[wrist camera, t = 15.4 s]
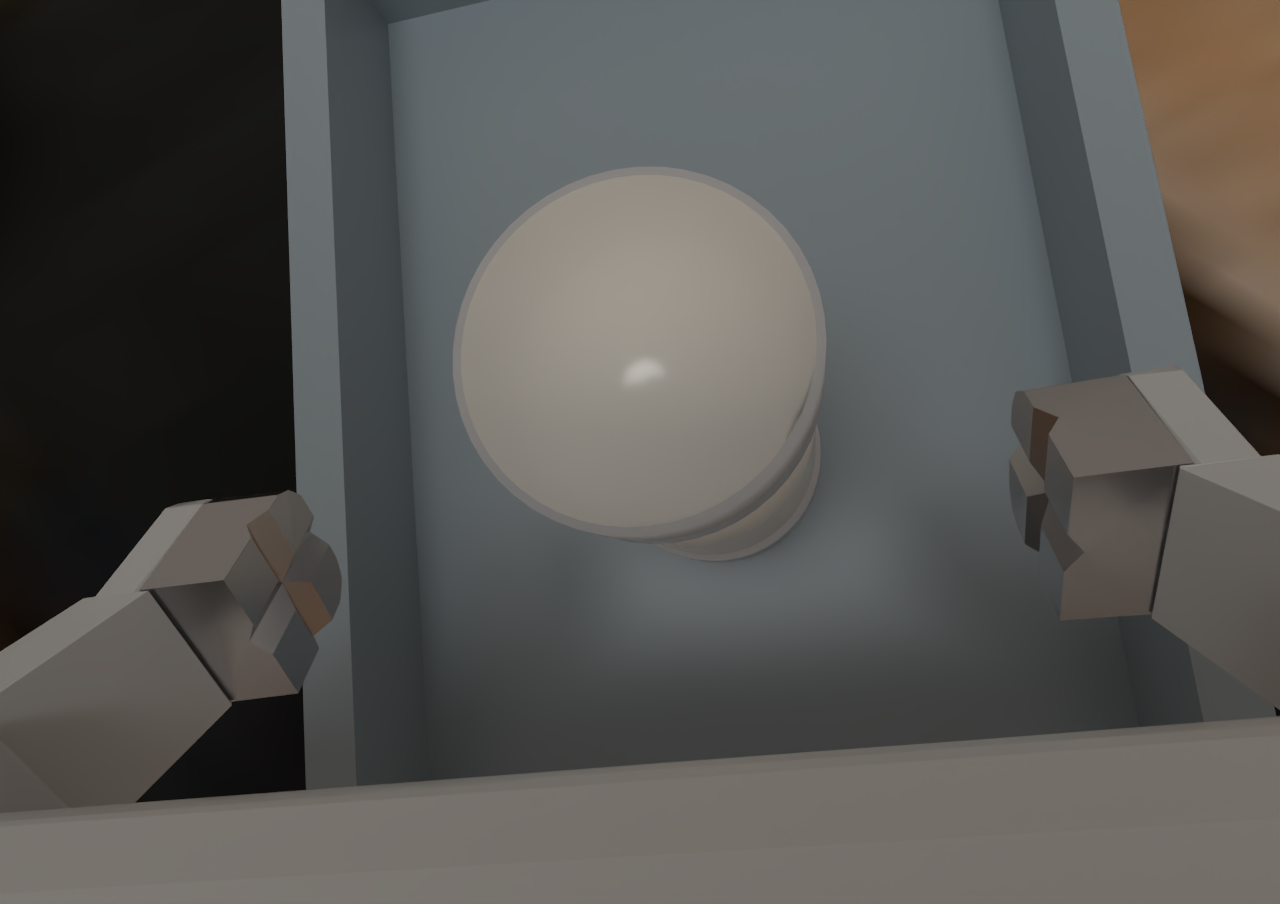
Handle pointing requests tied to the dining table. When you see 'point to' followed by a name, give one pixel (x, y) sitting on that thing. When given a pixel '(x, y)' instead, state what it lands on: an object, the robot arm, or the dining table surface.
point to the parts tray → (853, 386)
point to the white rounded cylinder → (648, 364)
